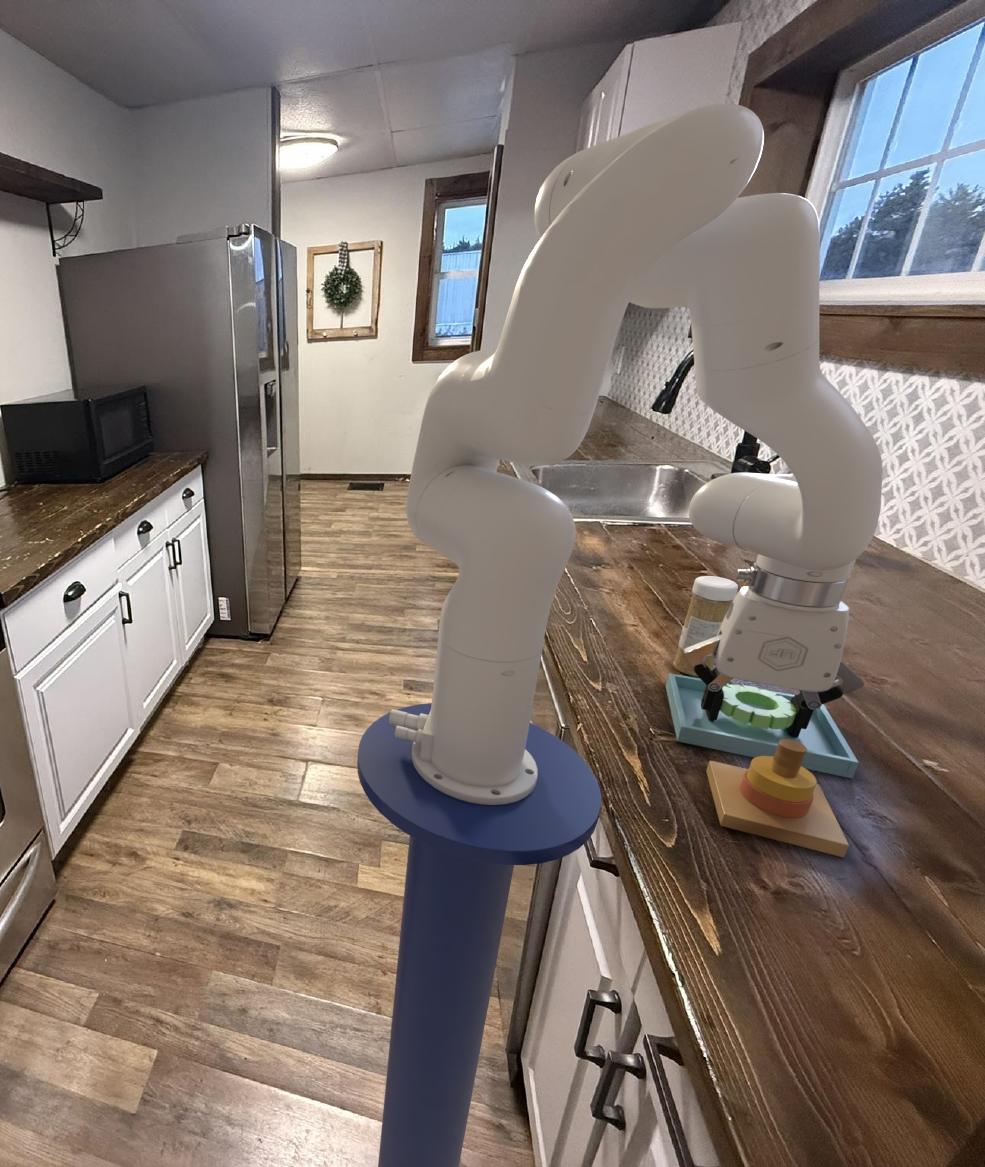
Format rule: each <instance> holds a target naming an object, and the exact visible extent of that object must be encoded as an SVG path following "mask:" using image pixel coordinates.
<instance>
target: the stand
mask: <svg viewBox="0 0 985 1167" xmlns="http://www.w3.org/2000/svg"><path fill="white" fill-rule="evenodd" d="M806 752H807V748H806V746H804V745H803V744H801V743H799V742H797V741H794V740H790V739H782V740H780V741H779V744H778V746H777V749H776V752H775V755H774V757H772V756H759V757H756V758H752V759H751V761H750V765H749V767H748V768H744V767H741V766H737V765H732V764H727V763H722V762H718V761H715V760H709V761H708V764H707V767H706V770H705V771H706V776H707V779H708V783H709V787H710V791H711V795H712V800H713V803H714V806H715V810H716V813H717V818H718V821H719V824H720V826H721V827H724V828H726V829H727V828H728V829H732V830H736V831H740V832H743V833H746V834H751V835H755V836H759V837H763V838H767V839H770V840H773V841H778V842H782V843H786V844H789V845H793V846H798V847H801V848H805V849H809V850H812V851H817V852H821V853H825V854H828V855H832V856H836V857H840V858H845V855H846V853H847V852H848V849H849V847H850V845H849V843H848V840H847V838H846V835H845V834H844V832H843V830H842V828H841V826H840V823H839V822H838V820H837V818H836V815H835V814H834V811H833V810H832V808H831V806H830V804H829V801H828V800H827V798H826V795H825V793H824V791H823V790H822V787H821V785H820V784H818V782H817V778H816V776H815V775H814V774H813V773H812V772H811V771H810V770H809V769H805V768H804V767H802V766H801V765H802V762H803V759H804V757H805V754H806Z"/></svg>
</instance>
